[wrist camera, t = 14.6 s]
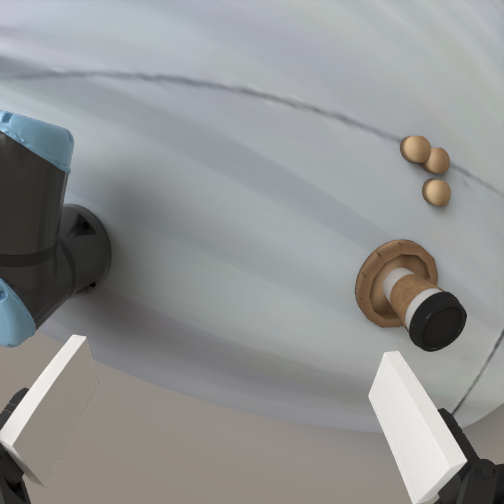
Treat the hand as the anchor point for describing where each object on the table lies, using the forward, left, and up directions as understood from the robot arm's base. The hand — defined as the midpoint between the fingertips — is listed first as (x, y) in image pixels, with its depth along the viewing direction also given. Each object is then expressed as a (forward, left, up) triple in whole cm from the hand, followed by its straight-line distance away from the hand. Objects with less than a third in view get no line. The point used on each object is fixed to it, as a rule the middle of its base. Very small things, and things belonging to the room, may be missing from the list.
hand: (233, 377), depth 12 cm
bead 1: (+25, +13, -33) cm, 43 cm away
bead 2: (+29, +12, -33) cm, 45 cm away
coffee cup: (+26, -9, -32) cm, 42 cm away
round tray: (+26, -9, -33) cm, 43 cm away
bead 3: (+30, +7, -33) cm, 45 cm away
